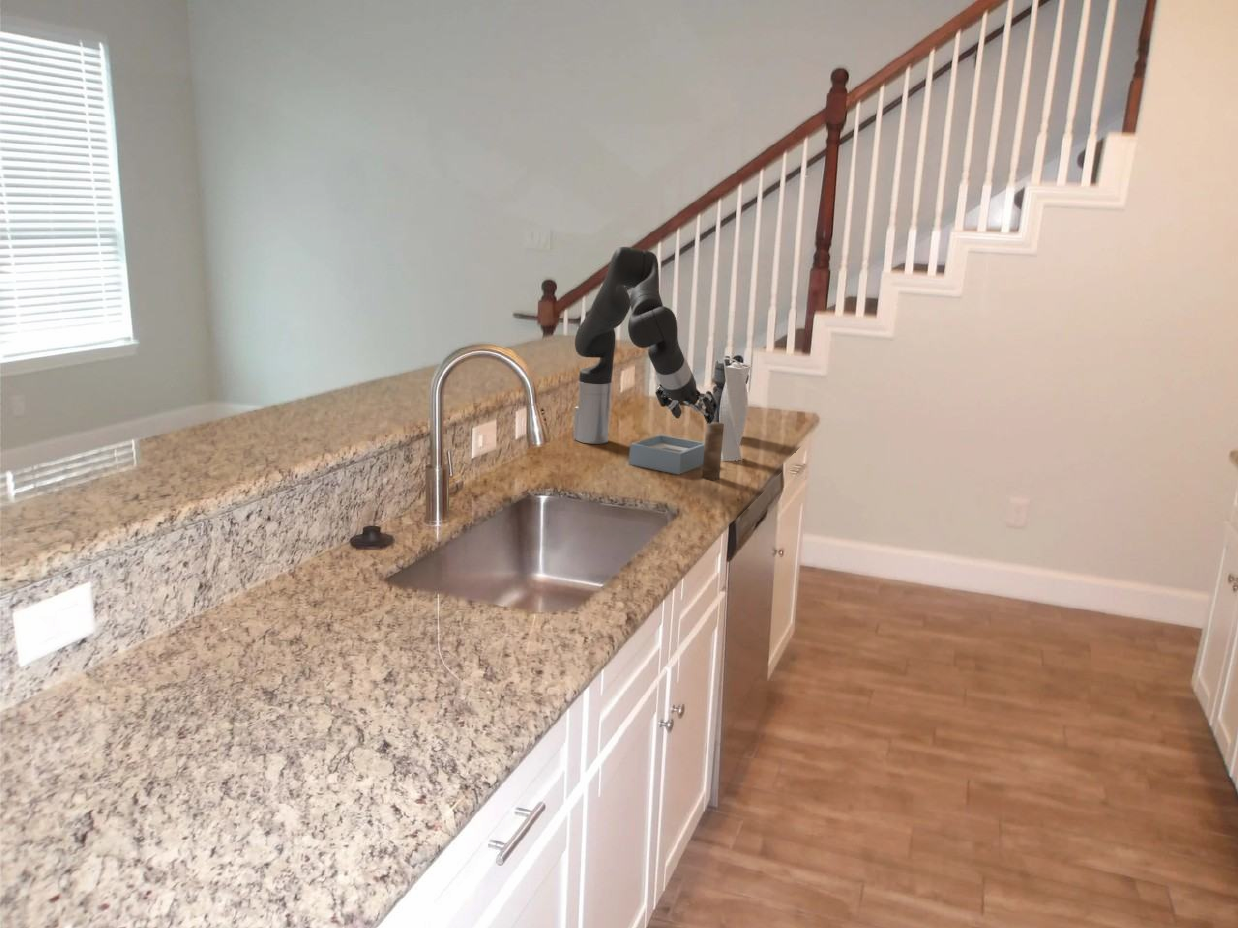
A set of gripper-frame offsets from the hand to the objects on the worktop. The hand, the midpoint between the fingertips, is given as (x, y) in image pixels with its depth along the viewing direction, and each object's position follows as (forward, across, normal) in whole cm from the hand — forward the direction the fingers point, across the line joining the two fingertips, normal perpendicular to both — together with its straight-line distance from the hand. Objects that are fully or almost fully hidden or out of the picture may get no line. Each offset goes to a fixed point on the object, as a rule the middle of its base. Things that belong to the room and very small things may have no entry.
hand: (694, 418), depth 233 cm
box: (+24, +15, 0) cm, 28 cm away
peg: (+20, 0, +4) cm, 21 cm away
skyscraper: (+36, +6, -12) cm, 38 cm away
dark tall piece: (+54, +19, -30) cm, 65 cm away
